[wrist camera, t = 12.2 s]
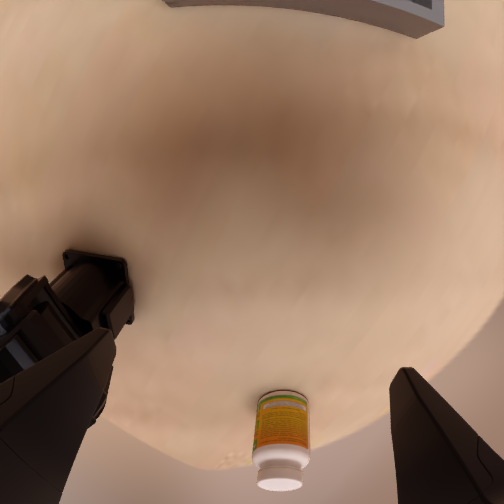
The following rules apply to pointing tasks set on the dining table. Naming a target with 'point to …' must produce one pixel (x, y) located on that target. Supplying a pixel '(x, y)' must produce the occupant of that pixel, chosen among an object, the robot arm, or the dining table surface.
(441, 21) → the grey bin
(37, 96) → the dining table surface
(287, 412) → the supplement bottle
